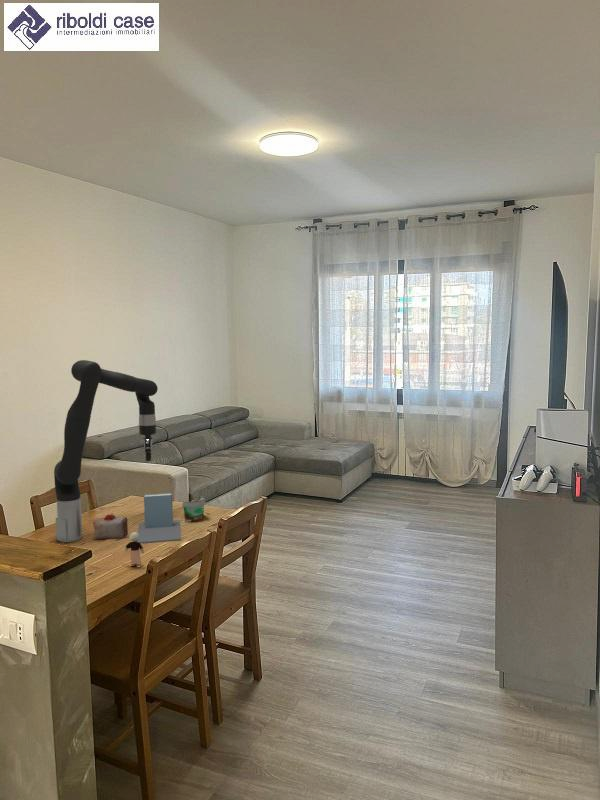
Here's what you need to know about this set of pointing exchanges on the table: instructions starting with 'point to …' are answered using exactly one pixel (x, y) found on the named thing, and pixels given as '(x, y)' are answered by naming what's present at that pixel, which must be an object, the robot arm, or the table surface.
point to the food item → (110, 527)
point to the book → (158, 510)
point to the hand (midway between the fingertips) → (148, 459)
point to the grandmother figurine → (135, 549)
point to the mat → (159, 533)
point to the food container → (194, 510)
